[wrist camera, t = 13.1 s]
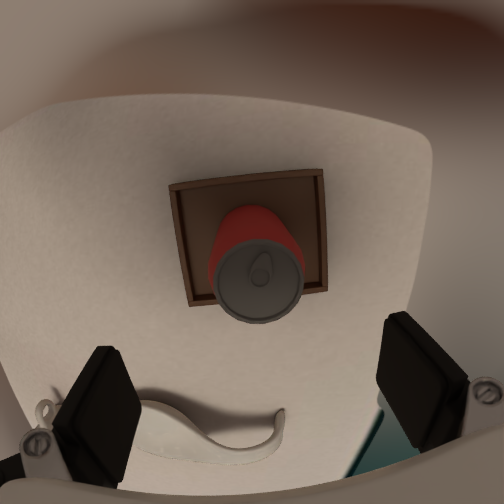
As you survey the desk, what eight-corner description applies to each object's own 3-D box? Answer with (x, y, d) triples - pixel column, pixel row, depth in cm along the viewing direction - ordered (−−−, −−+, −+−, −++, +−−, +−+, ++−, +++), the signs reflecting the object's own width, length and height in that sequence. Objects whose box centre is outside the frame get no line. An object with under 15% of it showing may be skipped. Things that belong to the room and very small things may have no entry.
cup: (35, 383, 35) (13, 413, 28) (70, 387, 35) (49, 422, 28) (63, 428, 38) (48, 458, 31) (98, 433, 38) (84, 467, 31)
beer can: (290, 210, 29) (324, 241, 17) (276, 273, 31) (298, 337, 19) (223, 198, 28) (212, 221, 17) (212, 263, 30) (198, 323, 19)
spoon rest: (130, 434, 38) (120, 468, 31) (110, 382, 35) (93, 418, 28) (280, 440, 39) (286, 476, 32) (286, 388, 36) (294, 428, 29)
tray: (172, 183, 28) (168, 185, 26) (317, 168, 28) (323, 169, 26) (191, 298, 32) (188, 307, 30) (323, 283, 32) (328, 291, 30)
